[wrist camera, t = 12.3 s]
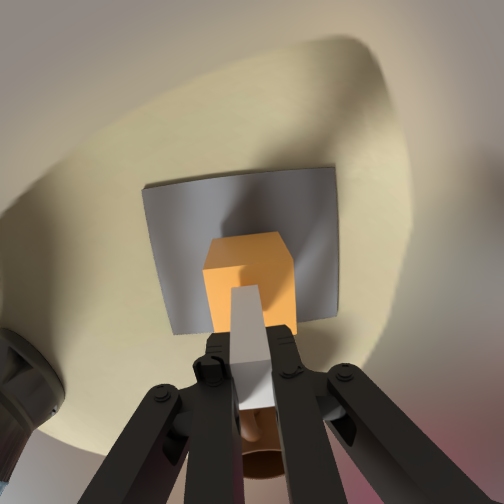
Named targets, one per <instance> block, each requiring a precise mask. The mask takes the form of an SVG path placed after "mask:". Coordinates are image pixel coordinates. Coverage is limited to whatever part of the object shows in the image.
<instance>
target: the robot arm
mask: <svg viewBox="0 0 504 504" xmlns="http://www.w3.org/2000/svg"><path fill="white" fill-rule="evenodd" d="M205 353H206V354H205V355H204V356H202V357H199V358H198V359H197V360H196V361H195V362H194V364H193V369H194V373H195V376H196V379H197V383H196V384H194V385H192V386H190V387H187V388H184V389H180V390H178V389H177V388H176V387H175V386H173V385H170V384H160V385H156V386H154V387H153V388H151V389H150V390H149V391H148V392H147V394H146V395H145V397H144V398H143V400H142V401H141V403H140V404H139V406H138V408H137V409H136V411H135V412H134V414H133V415H132V417H131V419H130V420H129V422H128V423H127V425H126V426H125V428H124V430H123V431H122V433H121V434H120V436H119V437H118V439H117V441H116V442H115V444H114V445H113V447H112V448H111V450H110V452H109V453H108V455H107V456H106V458H105V460H104V461H103V463H102V465H101V466H100V468H99V469H98V471H97V472H96V474H95V475H94V477H93V479H92V480H91V482H90V483H89V485H88V487H87V488H86V490H85V492H84V493H83V495H82V496H81V498H80V500H79V501H78V503H77V504H166V502H167V500H168V498H169V495H170V493H171V491H172V489H173V486H174V484H175V482H176V479H177V477H178V474H179V472H180V470H181V468H182V465H183V463H184V461H185V458H186V456H187V454H188V463H187V473H186V483H185V494H184V504H245V498H244V480H243V461H242V440H241V419H240V415H239V409H240V410H243V409H254V408H263V407H271V406H275V411H276V423H277V426H278V432H279V439H280V445H281V452H282V458H283V464H284V471H285V477H286V483H287V490H288V496H289V502H290V504H348V502H347V499H346V495H345V492H344V489H343V485H342V482H341V479H340V475H339V472H338V468H337V465H336V462H335V458H334V456H333V452H332V449H331V445H330V442H329V439H328V435H327V432H326V429H325V426H324V422H323V420H325V423H326V424H327V425H328V427H329V428H330V430H331V431H332V432H333V434H334V435H335V437H336V438H337V440H338V441H339V442H340V444H341V445H342V447H343V448H344V449H345V451H346V452H347V453H348V455H349V456H350V458H351V459H352V461H353V462H354V463H355V465H356V466H357V467H358V469H359V470H360V472H361V473H362V474H363V475H364V477H365V478H366V479H367V481H368V482H369V483H370V485H371V486H372V488H373V489H374V490H375V492H376V493H377V494H378V495H379V497H380V498H381V500H382V501H383V502H384V504H502V503H499V502H496V501H493V500H491V499H490V498H489V497H488V496H487V495H486V494H485V493H484V492H483V491H482V490H481V489H480V488H479V487H478V486H477V485H476V484H475V483H474V482H473V481H472V480H471V479H470V478H469V477H468V476H466V474H465V473H464V472H463V471H462V470H461V469H460V468H459V467H458V466H456V464H455V463H454V462H452V461H451V459H450V458H449V457H448V456H446V455H445V453H444V452H443V451H442V450H441V449H439V448H438V447H437V445H435V443H433V442H432V441H431V440H430V439H429V438H428V437H427V436H426V435H425V434H424V433H423V432H422V431H421V430H420V429H419V428H418V427H417V426H416V425H415V424H414V423H413V421H411V420H410V418H408V416H406V414H405V413H404V412H403V411H402V410H401V409H400V408H399V407H397V405H396V404H394V402H392V400H391V399H390V398H389V397H388V396H387V395H386V394H385V393H384V392H383V391H381V389H380V388H379V387H377V385H376V384H375V383H374V382H373V381H372V380H371V379H370V378H369V377H368V376H367V375H366V374H365V373H364V372H363V371H362V370H361V369H360V368H359V367H357V366H356V365H353V364H350V363H341V364H337V365H335V366H333V367H332V368H331V369H330V370H329V371H328V373H326V372H314V371H311V370H309V369H307V368H306V367H305V366H304V365H303V364H302V362H301V359H300V356H299V353H298V350H297V347H296V343H295V340H294V337H293V334H292V331H291V329H290V328H289V327H288V326H286V325H285V324H283V325H275V326H268V327H265V323H264V317H263V311H262V306H261V300H260V295H259V289H258V285H249V286H241V287H232V288H231V317H230V332H220V333H212V334H211V335H210V337H209V338H208V339H207V344H206V351H205ZM63 402H64V391H63V387H62V385H61V383H60V381H59V379H58V377H57V375H56V374H55V372H54V370H53V369H52V368H51V366H50V365H49V364H48V362H47V361H46V360H45V359H44V358H43V356H42V355H41V354H40V353H39V352H38V351H37V350H36V349H35V348H34V347H33V346H32V345H31V344H30V343H28V342H27V341H26V340H25V339H23V338H22V337H21V336H19V335H18V334H16V333H14V332H12V331H10V330H7V329H0V496H1V494H2V492H3V490H4V488H5V486H6V485H8V484H9V479H10V477H11V475H12V472H13V470H14V468H15V466H16V463H17V462H18V460H19V457H20V455H21V453H22V451H23V449H24V447H25V445H26V443H27V441H28V439H29V437H30V436H31V434H32V432H33V431H34V430H35V429H36V428H38V427H39V426H40V425H42V424H43V423H44V422H46V421H47V420H48V419H50V418H51V417H52V416H54V415H55V414H56V413H57V412H58V411H59V409H60V407H61V405H62V404H63ZM188 451H189V453H188Z"/></svg>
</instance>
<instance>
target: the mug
mask: <svg viewBox="0 0 504 504" xmlns="http://www.w3.org/2000/svg"><path fill="white" fill-rule="evenodd" d="M239 415H240V419H241V440H242V461H243V478H247V479H256V480H257V479H258V480H262V479H272V478H277V477H281V476H284V475H285V471H284V464H283V458H282V452H281V445H280V439H279V432H278V426H277V423H276V411H275V406H271V407H263V408H254V409H243V410H240V409H239Z"/></svg>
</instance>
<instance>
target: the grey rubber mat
mask: <svg viewBox="0 0 504 504" xmlns="http://www.w3.org/2000/svg"><path fill="white" fill-rule="evenodd" d="M141 191H142V197H143V203H144V209H145V215H146V220H147V226H148V231H149V236H150V241H151V246H152V251H153V256H154V260H155V265H156V269H157V273H158V278H159V282H160V286H161V290H162V294H163V298H164V302H165V306H166V309H167V313H168V317H169V320H170V324H171V328H172V331H173V335H182V334H197V333H210V332H214V327H213V322H212V317H211V312H210V307H209V302H208V297H207V292H206V286H205V281H204V276H203V267H204V263H205V260H206V257H207V254H208V251H209V248H210V245H211V241H212V239H216V238H225V237H233V236H242V235H250V234H259V233H268V232H277V231H278V233H279V234H280V236H281V238H282V240H283V242H284V243H285V245H286V247H287V249H288V251H289V253H290V254H291V256H292V258H293V263H294V281H295V302H296V323H298V322H305V321H311V320H318V319H324V318H330V317H336V316H337V296H338V226H337V200H336V182H335V167H328V168H310V169H296V170H283V171H272V172H261V173H251V174H242V175H234V176H226V177H218V178H210V179H203V180H196V181H189V182H183V183H177V184H170V185H165V186H159V187H153V188H148V189H143V190H141Z"/></svg>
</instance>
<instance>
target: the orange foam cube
mask: <svg viewBox="0 0 504 504" xmlns="http://www.w3.org/2000/svg"><path fill="white" fill-rule="evenodd" d="M203 276H204V281H205V286H206V292H207V297H208V302H209V307H210V312H211V317H212V322H213V327H214V332H215V333H220V332H230V317H231V288H232V287H241V286H249V285H258V289H259V295H260V300H261V306H262V311H263V317H264V323H265V327H268V326H275V325H283V324H285V325H286V326H288V327H289V328H290V329H291V331H292V334H293V335H295V334H297V327H296V302H295V281H294V263H293V258H292V256H291V254H290V253H289V251H288V249H287V247H286V245H285V243H284V242H283V240H282V238H281V236H280V234H279V233H278V231H277V232H268V233H259V234H250V235H242V236H233V237H225V238H216V239H212V241H211V245H210V248H209V251H208V254H207V257H206V260H205V263H204V267H203Z"/></svg>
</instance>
